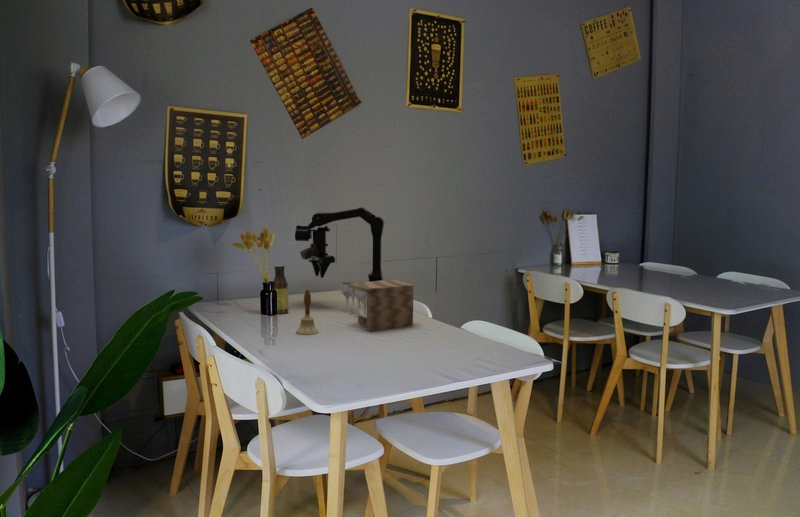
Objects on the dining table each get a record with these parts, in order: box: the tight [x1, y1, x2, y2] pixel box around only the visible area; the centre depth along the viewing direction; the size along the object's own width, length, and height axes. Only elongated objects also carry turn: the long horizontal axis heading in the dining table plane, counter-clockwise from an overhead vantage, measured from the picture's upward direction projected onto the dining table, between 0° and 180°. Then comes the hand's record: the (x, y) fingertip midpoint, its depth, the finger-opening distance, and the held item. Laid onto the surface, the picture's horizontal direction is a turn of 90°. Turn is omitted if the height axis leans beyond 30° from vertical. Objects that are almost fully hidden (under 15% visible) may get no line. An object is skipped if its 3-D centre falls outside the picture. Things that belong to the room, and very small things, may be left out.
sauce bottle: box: [272, 264, 289, 315], centre depth 280 cm, size 6×6×20 cm
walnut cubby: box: [349, 279, 415, 333], centre depth 261 cm, size 20×15×16 cm
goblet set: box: [340, 281, 367, 318], centre depth 276 cm, size 28×6×13 cm, turn 29°
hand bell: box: [295, 289, 319, 336], centre depth 248 cm, size 8×8×16 cm
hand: (319, 276), depth 294 cm, fingers open, 5 cm apart
